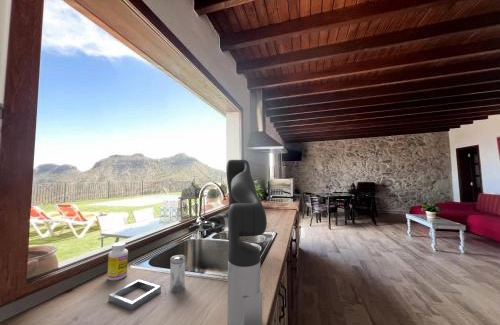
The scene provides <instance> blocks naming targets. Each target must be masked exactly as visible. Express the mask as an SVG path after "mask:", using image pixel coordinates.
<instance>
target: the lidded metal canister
mask: <svg viewBox="0 0 500 325" xmlns="http://www.w3.org/2000/svg"><path fill="white" fill-rule="evenodd" d="M186 258H187V257H186V255H185V254H176V255H173V256H171V257H170V262H169V263H170V271H169V272H170V275H169V276H170V277H169V292H171V293H180V292H182V291H183V290H185V286H186V285H185V282H186V281H185V280H186V279H185V278H186V260H187V259H186Z"/></svg>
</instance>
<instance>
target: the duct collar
mask: <svg viewBox="0 0 500 325" xmlns="http://www.w3.org/2000/svg"><path fill="white" fill-rule="evenodd" d="M137 288H141V289H144V290H146V291H147V292H146V293H143V294H142V295H141V296H139V297H137V298H136V299H134V300H130V299H127V298H125V297H123V296H124V295H126V294H128V293H130V292H131V291H133V290H135V289H137ZM161 292H162V289H161V285H158V284H155V283H152V282H148V281H145V280H142V279H137V280H135V281H133V282H131V283H128V284H127V285H125V286H123V287H121V288H119V289H117V290H115V291H113V292H112V293H109V294H108V302H109V303H112V304H115V305H116V306H119V307H122V308H124V309H127V310H128V311H134V310H135V309H137V308H139V307H140V306H141V305H143V304H144V303H147V301H149V300H151V299H152V298H153V297H155V296H157V295H158V294H160V293H161Z"/></svg>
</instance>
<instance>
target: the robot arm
mask: <svg viewBox="0 0 500 325" xmlns="http://www.w3.org/2000/svg"><path fill="white" fill-rule="evenodd" d="M225 171H226V172H225V174H226V183H227V192H228V209H227V210H226V211H225V212H223V213H219V214H217V215H213V216H211V217H209V218H208V220H207V221H196V222H193V223H191V226H189V228H188V233H193V232H195V231H200V232H203V231H205V236H209V235H211V234H220V233H222V232H224V231H225V230H226V229H228V234H227V235H228V253H227V254H228V255H227V256H228V257H227V260H228V261H227V299H226V300H227V304H226V306H227V310H226V311H227V312H226V314H227V315H226V325H263V291H262V290H261V250H260V249H259V248H258V247H257V246H255V245H252V244H250V243H246V242H245V241H243V240H242V239H241V238H240V237H257V236H261V235H263V234H264V233H265V232H266V229H267V221H268V220H267V219H268V218H267V214H266V211H265V208H264V206H263V204H262V201H261V199H260V198H259V196H258V193H257V189H256V186H255V183H254V179H253V177H252V174H251V167H250V164H249V161H247V160H246V159H229V160H227V162H226V166H225Z"/></svg>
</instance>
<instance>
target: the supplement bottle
mask: <svg viewBox="0 0 500 325" xmlns="http://www.w3.org/2000/svg"><path fill="white" fill-rule="evenodd" d="M126 245H127V244H126V242H124V241H122V242H121V241H120V242H115V243H112V244H111V249H112V250H110V251H109V252H108V255H107V256H108V257H107V258H108V259H107V274H106V275H107V277H106V278H107V280H109V281H118V280H122V279H123V278H125V277H127V275H128V260H129V259H128V258H129V257H128V256H129V250H128V249H127V248H126Z"/></svg>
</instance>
